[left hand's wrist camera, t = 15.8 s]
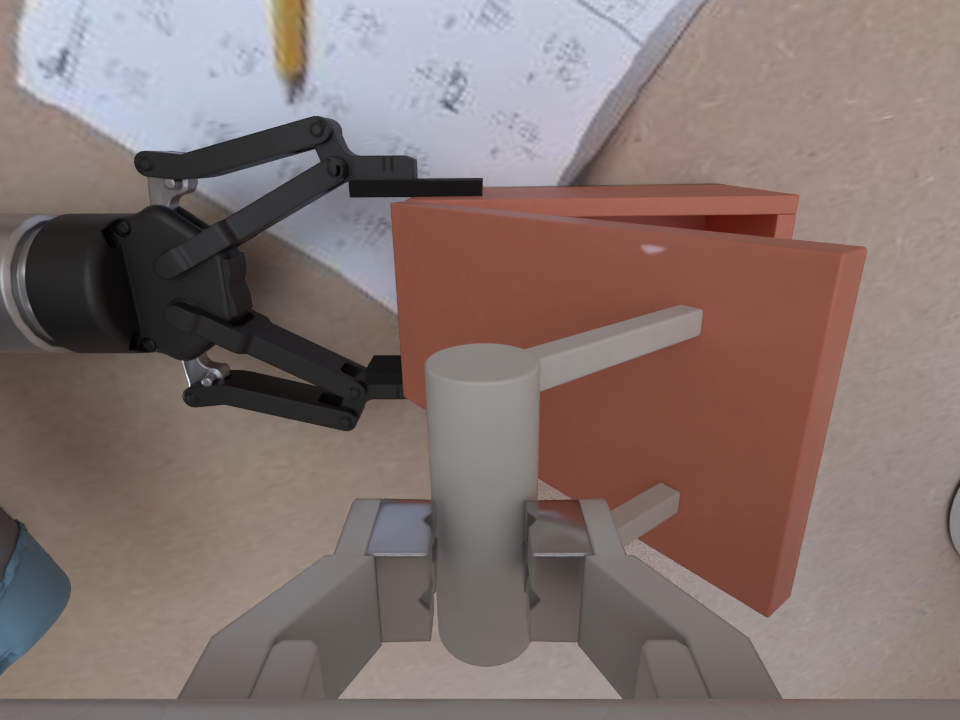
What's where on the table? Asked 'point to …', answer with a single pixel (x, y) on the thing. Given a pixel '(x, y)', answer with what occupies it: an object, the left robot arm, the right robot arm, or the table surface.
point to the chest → (649, 205)
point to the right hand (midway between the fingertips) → (482, 283)
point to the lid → (615, 394)
